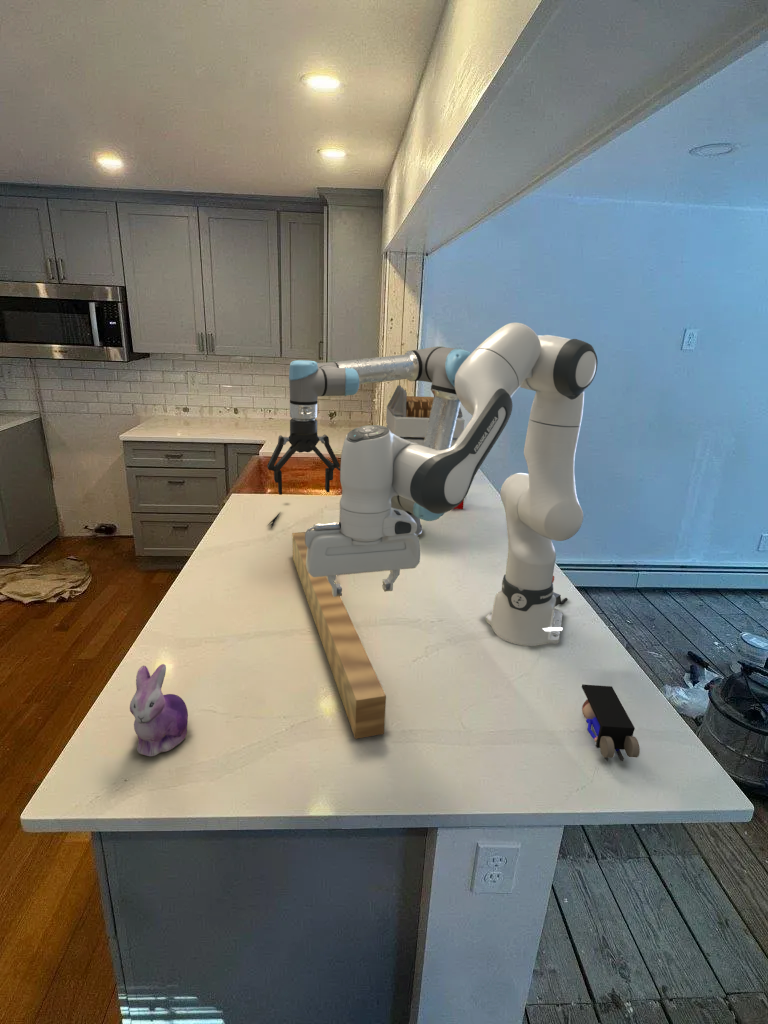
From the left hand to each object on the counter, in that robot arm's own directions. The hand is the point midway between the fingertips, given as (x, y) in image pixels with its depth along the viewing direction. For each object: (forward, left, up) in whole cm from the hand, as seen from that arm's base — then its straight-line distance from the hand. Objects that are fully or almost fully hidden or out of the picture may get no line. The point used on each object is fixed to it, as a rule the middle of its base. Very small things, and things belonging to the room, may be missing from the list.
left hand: (304, 492), depth 163 cm
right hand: (+61, -27, +2) cm, 67 cm away
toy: (-22, +85, -24) cm, 91 cm away
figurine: (+46, -60, -24) cm, 79 cm away
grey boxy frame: (-56, +103, -24) cm, 120 cm away
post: (+31, -13, -24) cm, 41 cm away
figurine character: (+96, +4, -24) cm, 99 cm away
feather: (-42, +16, -24) cm, 51 cm away
